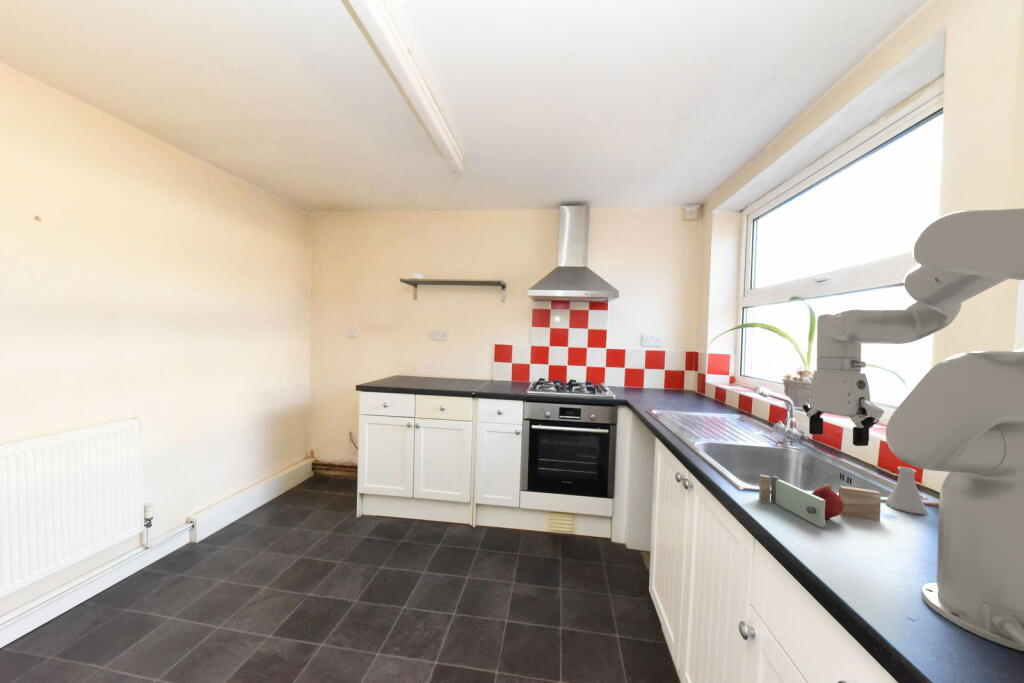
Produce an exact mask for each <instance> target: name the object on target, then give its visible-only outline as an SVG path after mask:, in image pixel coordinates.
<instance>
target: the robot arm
mask: <svg viewBox="0 0 1024 683" xmlns="http://www.w3.org/2000/svg"><path fill="white" fill-rule="evenodd" d="M911 253H912V257H913V259H914V260H915V262H917V263H918V264H917V265H915V266H914V267H912V268H911V269H910V270H909V271H908V272H907V273H905V276H904V278H903V286H904V289H905V291H906V292H907V294H908V295H909V296H910V297H911V298H912V299H913V300H915V301H913V302H911V303H909V304H907V305H905V306H902V307H849V308H844V309H842V310H839V311H831V312H824V313H823V312H822V313H820V314H819V316H818V317H817V321H816V322H817V323H816V329H817V331H816V333H817V334H816V369H815V370H814V371H813V374H812V378H811V383H810V384H811V385H810V393H809V394H805V395H804V396H801V397H799V401H800V403H801V406H802V409H803V411H804V412H805V413H806V416H807V418H809V419H808V420H809V423H808V424H809V426H808V430H809V434H810V435H823V434H824V418H823V417H822V415H824V414H831V415H836V416H841V417H846V418H850V420H851V421H852V422H853V424H854V425H855V426H853V428H852V444H853V446H856V447H869V442H870V429H872V428H873V426H874V425H876V424H878V423H879V422H880V419H881V417H882V416H883V415H884V413H885V411H884V409H883V408H880V407H879V406H877V405H876V404H874V403H872V402H871V393H870V387H869V383H868V379H867V375H866V373H865V372H862V369H864V368H866V366H867V364H866V362H865V361H862V344H868V345H869V344H883V345H884V344H889V345H891V344H892V345H893V344H894V345H900V344H908V343H913V342H917V341H919V340H922V339H924V338H927V337H929V336H930V335H933V334H935V333H937V332H939V331H942V330H943V329H945V328H947V327H948V326H950V324H951V323H953V322H954V321H955V319H956V318H957V316H958V315H959V313H960V311H961V308H962V303H963V302H965V301H968V300H970V299H971V298H974V297H975V296H978V295H980V294H982V293H983V292H985V291H987V290H989V289H991V288H993V287H995V286H997V285H999V284H1001V283H1003V282H1005V281H1007V280H1014V281H1015V280H1016V281H1024V207H1023V208H1010V209H983V210H982V209H980V210H979V209H977V210H976V209H973V210H972V209H971V210H970V209H969V210H959V211H954V212H951V213H948V214H945V215H942V216H940V217H938V218H937V219H934V220H933V221H931V222H930V223H928V224H927V225H926V226H925V227H924V228H922V229H921V231H920V232H918V235H916V238H915V239H914V241H913V244H912V252H911ZM885 440H886V443H887V446H888V448H889V449H890V451H891V452H892V453H893V454H894V456H895V457H897V458H898V459H899V460H901V461H902V462H904V463H906V464H908V465H910V466H911V467H915V468H918V469H922V470H926V471H935V472H947V475H946V476H945V478H944V479H943V482H942V484H941V487H940V492H939V500H938V501H939V505H938V525H937V526H938V529H937V531H938V532H937V563H936V564H937V565H936V582H931V583H925V584H923V585H922V587H921V590H920V591H921V592H920V593H921V598H922V599H923V601H924V602H925V603H926V604H927V605H928V606H929V607H930V608H931V609H932V610H933V611H934V612H936V613H937V614H939V615H940V616H942V617H943V618H944V619H946V620H948V621H949V622H951V623H953V624H954V625H957V626H958V627H961V628H962V629H964V630H965V631H966V630H967V631H969V632H971V633H972V634H975V635H976V636H979V637H981V638H983V639H986V640H988V641H991V642H993V643H996V644H999V645H1002V646H1005V647H1007V648H1011V649H1013V650H1014V649H1015V650H1017V651H1021V652H1024V348H1020V349H1017V350H1011V351H1008V350H979V351H977V350H975V351H974V350H973V351H966V352H961V353H958V354H954V355H952V356H950V357H946V358H945V359H943V360H942V361H939V362H938V363H936V364H935V365H934V366H933V367H932V368H930V369H929V371H928V372H926V374H925V375H924V376H923V377H922V378H921V380H920V381H919V382H918V383H917V384H916V385H915V386H914V388H912V390H911V392H910V393H909V394H908V395H907V396H906V397H905V398H904V399H903V401H902V402H901V403H900V404H899V405H898V407H897V408H896V409H895V410H894V412H893V413H892V415H891V416H890V417H889V420H888V423H887V425H886V428H885Z"/></svg>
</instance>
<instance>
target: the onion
mask: <svg viewBox="0 0 1024 683" xmlns="http://www.w3.org/2000/svg"><path fill="white" fill-rule="evenodd" d="M811 494H813V495H815V496H817V497H820V498H822V499H824V500H825V519H826V520H829V519H832V518H835V517H839V516H841V513H842V511H843V508H844V505H843V502H842V500H841V498H840V497H839V494H838V493H837V492H835V491H834V490H832V486H831V485H830V484H824V486H822V487H819V488H817V489H815V490H814V491H812V493H811Z"/></svg>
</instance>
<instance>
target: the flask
mask: <svg viewBox="0 0 1024 683" xmlns="http://www.w3.org/2000/svg"><path fill="white" fill-rule="evenodd" d="M897 470H898V477H897V481H896V484H895V486H894V487H893V489H892V491H891V492H890V494H889V496H888V497H887V499H886V501H885V503H884V504H886V505H888V506H889V507H891V508H892V509H895V510H899V511H902V512H905V513H908V514H909V513H910V514H916V515H923V516H925V515H926V514H928V510H927V508H926V505H925V502H924V501H923V499H922V497H921V494H920V492H919V489H918V486H917V484H916V480H915V474H917V470H915V469H914V468H910V467H905V466H897Z"/></svg>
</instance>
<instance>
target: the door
mask: <svg viewBox="0 0 1024 683" xmlns="http://www.w3.org/2000/svg"><path fill="white" fill-rule="evenodd" d="M770 478H771V484H770V503H774V504H777V505H779V506H781V507H782V508H784V509H786V510H788V511H789V512H791V513H793V514H795V515H798V516H799V517H800V518H803V519H804V520H806V521H808V522H810V523H812V524H813V525H816V526H818V527H820V528H825V526H826V525H825V524H826V522H825V500H824V499H822V498H820V497H817V496H815V495H813V494H812V493H811V492H808V491H806V490H804V489H802V488H799V487H797V486H795V485H793V484H791V483H790V482H789V483H788V482H786V481H785V480H782V479H780V477H779V476H776V475H771V477H770Z"/></svg>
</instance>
